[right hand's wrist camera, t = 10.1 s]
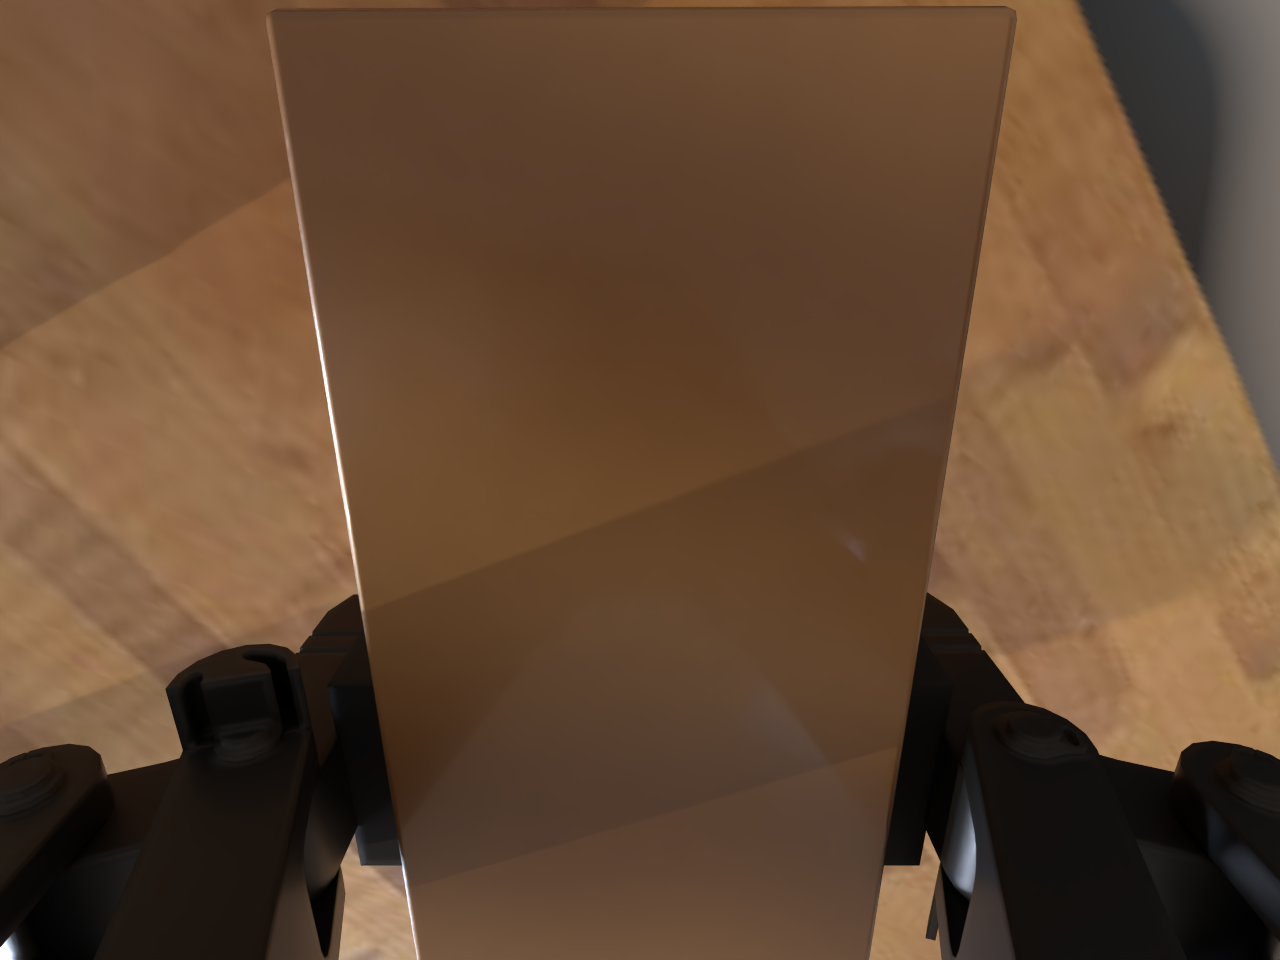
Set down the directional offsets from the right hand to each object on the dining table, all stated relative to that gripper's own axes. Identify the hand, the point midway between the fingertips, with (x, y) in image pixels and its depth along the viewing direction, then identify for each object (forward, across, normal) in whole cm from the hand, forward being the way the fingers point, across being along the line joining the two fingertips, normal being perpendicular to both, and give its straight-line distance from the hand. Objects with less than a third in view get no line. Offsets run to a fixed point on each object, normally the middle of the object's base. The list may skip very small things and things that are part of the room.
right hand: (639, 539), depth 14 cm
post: (0, 0, -33) cm, 33 cm away
